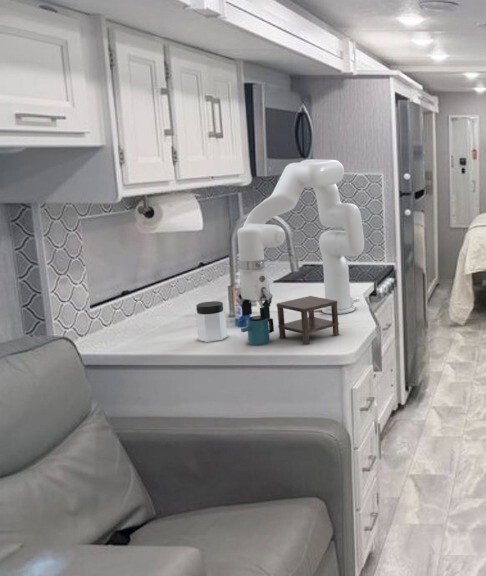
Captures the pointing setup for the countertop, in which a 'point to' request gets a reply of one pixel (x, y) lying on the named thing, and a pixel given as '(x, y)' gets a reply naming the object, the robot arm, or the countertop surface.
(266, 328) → the kettle
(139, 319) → the countertop surface
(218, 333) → the jar
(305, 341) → the stand
